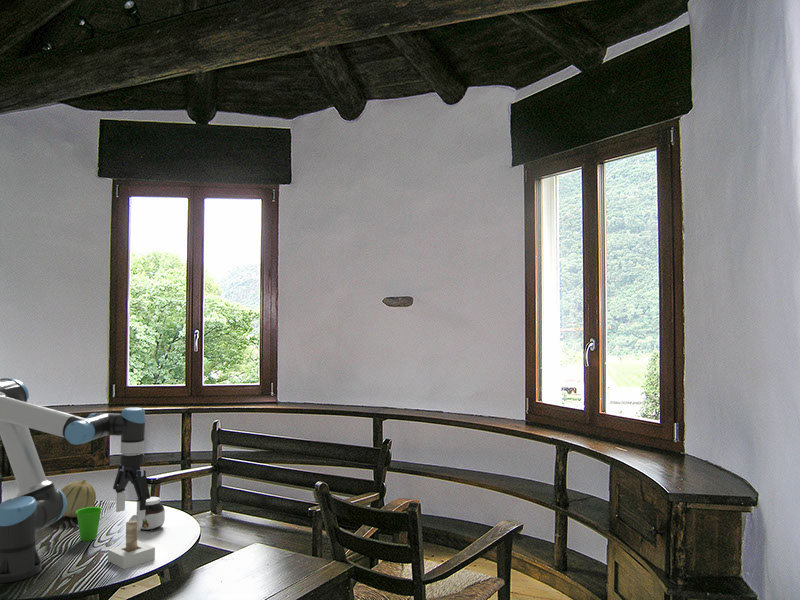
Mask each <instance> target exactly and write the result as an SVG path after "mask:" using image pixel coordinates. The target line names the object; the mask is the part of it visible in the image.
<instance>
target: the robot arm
mask: <svg viewBox="0 0 800 600" xmlns="http://www.w3.org/2000/svg"><path fill="white" fill-rule="evenodd" d="M29 397H30V393H29V390H28V387H27V386H26V384H24V382H22V380H18V379H16V378H11V377H9V378H5V377H4V378H3V377H2V378H0V439H1V441H2V444H3V447H4V449H5V453H6V455H7V458H8V462H9V464H10V468H11V469H12V473H13V476H14V479H15V481H16V484H17V487H18V490H19V491H18V493H17V494H16V497H13V498H9V499H6V500H5V501H4V500H3V501H2V502H1V503H0V584H7V583H13V582H18V581H22V580H23V581H24V580H25V579H29V578H32V577H33V576H35V575H37V574H39V573H40V572H41V571H42V559H41V557H40V554H39V552H38V549H37V547H36V544H37V543H36V542H37V541H36V539H37V532H39V531H41V530H43V529H45V528H47V527H49V526H51V525H52V526H53V524H55V523H57V521H59V520H60V519H61V518H62V517H63V515H64V512H65V511H66V507H67V500H66V497H65V495H64V493H63V492H62V491H61V490H60V489H58V488H55V484H54V482H53V481H51V480H48V479H47V476H46V474H45V471H44V468H43V466H42V463H41V459H40V458H39V457H40V456H39V453H38V451H37V448H36V446H35V443H34V441H33V437H32V435H31V431H30V429H32V430H36V431H39V432H42V433H47V434H51V435H52V436H53V435H54V436H57V437H61V438H64V439H66V441H67V442H69V444H71V445H84V444H87V443H89V442H91V441H94V440H97V439H99V438H103V437H106V436H116V437H117V436H118V437H119V436H120V453H121V454H120V456H119V457H120V461H119V463H120V464H118V466H117V467H118V468H117V473H116V476H115V479H114V482H113V486H112V489H113V490H115V493H116V509H115V512H116V513H118V512H123V511H124V512H125V511H126V487H127V486H128V484H129V482H130V483H131V484H132V485H133V488H134V490H135V493H136V497H137V500H136V513H137V519H136V520H137V521H138V520H142V519H145V509H146V500H147V499H150V497H151V494H150V489H149V485H148V481H147V474H146V473H147V471H146V469H142V470H141V466H143V465H144V463H145V453H144V451H145V444H146V443H145V433H146V430H145V428H146V411H145V409H144V408H142V407H125V408H123V409H122V410H121V413H113V412H112V413H111V412H108V413H107V412H92V413H90V414H88V416H86V417H81V416H79V415H76V414H71V413H67V412H63V411H59V410H58V409H57V410H56V409H53V408H48V407H45V406H42V405H37V404H34V403H30V402H28V400H29Z"/></svg>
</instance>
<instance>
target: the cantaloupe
mask: <svg viewBox="0 0 800 600" xmlns="http://www.w3.org/2000/svg"><path fill="white" fill-rule="evenodd" d="M60 491H62V492H63V493H64V495H65V497H66V500H67V507H66V511H65V512H64V514H63V515H64V516H65V517H68V518H77V514H76V511H77V510H79V509H82V508H86V507H95V504H96V500H97V494H96V490H95V488H94V486H93V485H92V484H91V483H89V482H87V480H86V479H84V480H82V481H81V480H75V481H71V482H69V483H67V484H66V485H65V486H63V487H62V488H61V489H60Z"/></svg>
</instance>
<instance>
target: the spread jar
mask: <svg viewBox="0 0 800 600" xmlns="http://www.w3.org/2000/svg"><path fill="white" fill-rule="evenodd" d="M165 512H166V511H165V506H164V505H163V504H162V503H161V498H160V497H159V496H158V497H157V496H150V499H147V500H146V509H145V519H142V520H138V521H137V520H136V519H137V512H136V514H133V515H132V516H131V517H130V518H129V519H128V521H137V534H138V533H140V531H141V532H144V531H151V532H155V531H154V530H156V531H158V530H159V529H160V528H162V527H163V525H164V523H165V519H166V518H165V514H166V513H165ZM157 529H158V530H157Z"/></svg>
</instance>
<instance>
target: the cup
mask: <svg viewBox="0 0 800 600" xmlns="http://www.w3.org/2000/svg"><path fill="white" fill-rule="evenodd" d="M102 511H103V508H102V507H101V506H93V507H86V508H82V509H79V510H77V511H76V514H77V517H76V518H77V524H78V531H79V536H80V540H82V541H90V542H92V541H91V540H94V539H95V538H96V539H97V536H98V529H99V525H100V519H101V514H102ZM96 539H95V540H96ZM95 540H94V541H95ZM82 541H81V542H82Z"/></svg>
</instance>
